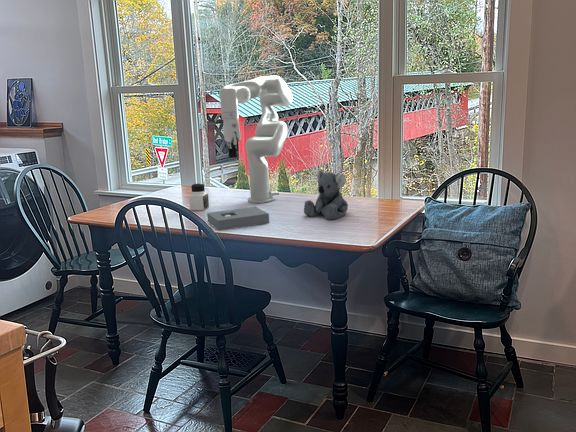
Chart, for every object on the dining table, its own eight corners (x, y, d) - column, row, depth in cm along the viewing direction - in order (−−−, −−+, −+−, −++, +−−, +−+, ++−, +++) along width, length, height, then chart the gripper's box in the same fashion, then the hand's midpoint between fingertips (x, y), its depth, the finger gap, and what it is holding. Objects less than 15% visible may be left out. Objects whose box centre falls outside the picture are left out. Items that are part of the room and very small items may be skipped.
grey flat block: (255, 215, 254) (255, 206, 253) (269, 222, 240) (268, 213, 239) (207, 222, 246) (207, 212, 245) (218, 230, 232) (218, 220, 231)
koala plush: (301, 216, 249) (299, 171, 245) (327, 208, 262) (325, 165, 257) (332, 221, 238) (331, 175, 233) (357, 213, 250) (357, 168, 246)
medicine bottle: (204, 210, 268) (202, 185, 265) (189, 210, 270) (187, 185, 267) (209, 207, 275) (207, 182, 272) (195, 207, 277) (193, 182, 274)
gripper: (243, 116, 248) (246, 158, 252) (232, 114, 261) (235, 154, 265) (227, 117, 245) (230, 159, 249) (217, 115, 258) (219, 156, 262)
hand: (232, 157), depth 257 cm, fingers closed
